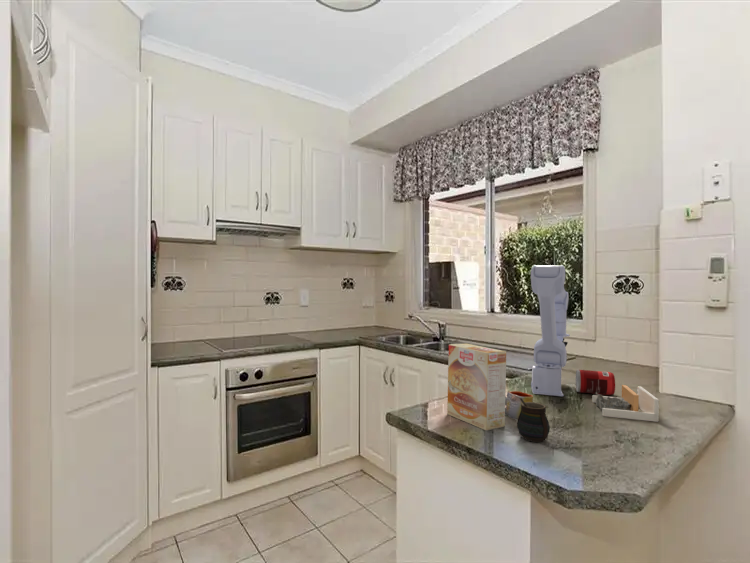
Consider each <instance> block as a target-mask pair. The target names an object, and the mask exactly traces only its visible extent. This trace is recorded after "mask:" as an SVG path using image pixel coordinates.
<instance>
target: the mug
mask: <svg viewBox="0 0 750 563" xmlns="http://www.w3.org/2000/svg"><path fill="white" fill-rule="evenodd" d="M520 398H522V400H523V401H524V402H533V401H534V395H533V394H530V393H526V392H523V391H520V390H511V391H507V393H506V395H505V416H508V417H509V418H511V419H512V420H513V419H514V420H516V421H518V417H519V415H520V412H521V404H522V401H521V400H520Z"/></svg>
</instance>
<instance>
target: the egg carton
mask: <svg viewBox="0 0 750 563" xmlns="http://www.w3.org/2000/svg"><path fill="white" fill-rule="evenodd" d="M594 395H596V396H598V398H597V399H596V403H595V406H596V407H599V410H602V408H609V409H619V410H629V411H630V405H631V404H629V403H628V402H627V401H625V400H624V399H623V398H622V397H618V398H616V396H612V397H613V398H610V397H611V396H607V399H604V398H603V396H604V395H603V394H597V392H596V393H595V394H594Z"/></svg>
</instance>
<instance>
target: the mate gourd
mask: <svg viewBox="0 0 750 563" xmlns="http://www.w3.org/2000/svg"><path fill="white" fill-rule="evenodd" d="M520 400H521V401H522V404H521V412H520V415H519V417H518V420H516V428H517V430H518V434H519V435H520V436H521V438H523V439H524V440H526V441H528V442H533V443H534V442H535V443H544V442H545V441H546V439H547V438H548V437H549V433H550V428H551V426H550V422H549V419H548V418H547V414H546V412H547V406H546V405H544V404H542V403H539V402H524V401H523V400H522V398H520Z"/></svg>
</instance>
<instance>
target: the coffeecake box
mask: <svg viewBox="0 0 750 563" xmlns="http://www.w3.org/2000/svg"><path fill="white" fill-rule="evenodd" d="M447 358H448V360H447V361H448V366H447V404H446V405H447V408H446V410H447V411H446V412H447V413H446V415H448V416H451V417H453V418H455V419H458V420H460V421H463V422H465V423H467V424H470V425H471V426H472V425H473V426H475V427H477V428H478V429H481V430H484V431H486V432H487V431H490V430H491V431H492V430H494V429H500V428H504V427H505V426H506V414H505V408H506V405H505V396H506V387H507V386H506V383H507V381H506V380H507V350H500V349H496V348H492V347H491V348H490V347H488V346H487V347H485V346H481V345H476V344H471V343H467V342H465V343H451V344H448V357H447Z"/></svg>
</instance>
